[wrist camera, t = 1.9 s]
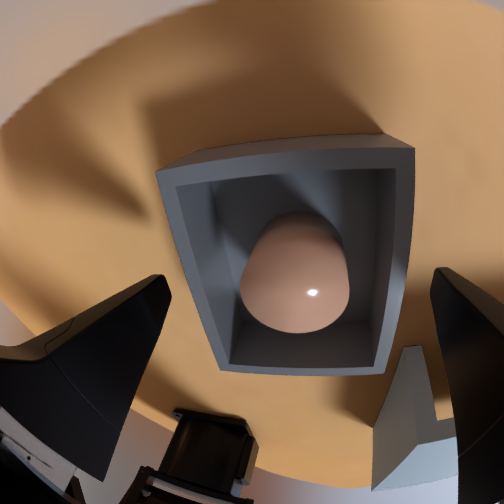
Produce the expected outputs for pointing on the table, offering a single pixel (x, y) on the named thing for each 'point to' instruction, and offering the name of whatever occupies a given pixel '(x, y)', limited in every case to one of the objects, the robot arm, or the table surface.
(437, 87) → the table surface
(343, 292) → the tan rounded dome
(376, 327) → the tray
